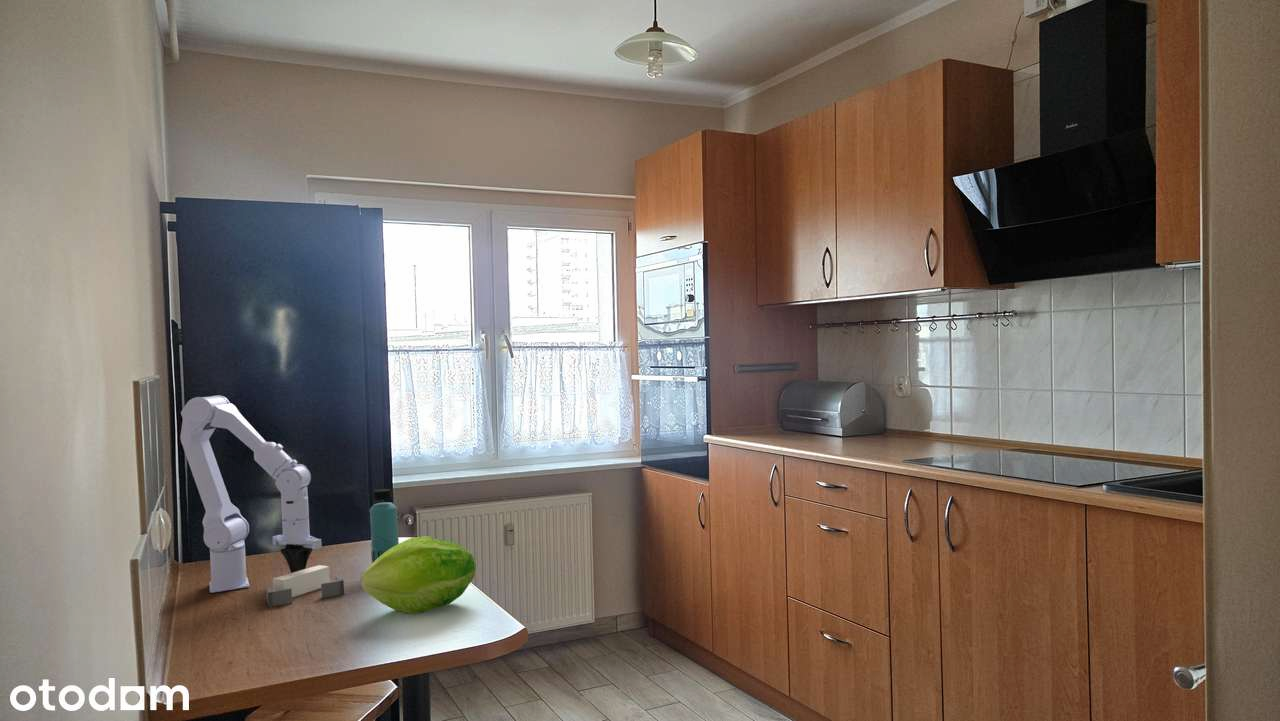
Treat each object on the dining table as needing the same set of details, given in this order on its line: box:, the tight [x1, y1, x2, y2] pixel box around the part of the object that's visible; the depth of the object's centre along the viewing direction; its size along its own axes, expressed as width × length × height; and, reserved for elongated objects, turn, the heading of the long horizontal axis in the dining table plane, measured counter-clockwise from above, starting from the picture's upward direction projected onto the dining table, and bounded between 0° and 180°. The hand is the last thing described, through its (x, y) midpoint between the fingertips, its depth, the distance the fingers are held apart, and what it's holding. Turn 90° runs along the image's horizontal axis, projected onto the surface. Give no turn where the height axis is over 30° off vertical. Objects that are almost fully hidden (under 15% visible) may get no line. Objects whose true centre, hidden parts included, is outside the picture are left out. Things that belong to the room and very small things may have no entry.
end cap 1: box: [265, 585, 293, 608], centre depth 177 cm, size 6×4×3 cm
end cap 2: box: [320, 574, 345, 599], centre depth 182 cm, size 6×4×3 cm
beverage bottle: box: [369, 488, 400, 564], centre depth 197 cm, size 6×7×20 cm
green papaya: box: [360, 535, 477, 614], centre depth 167 cm, size 15×23×16 cm
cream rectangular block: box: [272, 564, 331, 598], centre depth 184 cm, size 4×12×4 cm, turn 150°
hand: (298, 577), depth 191 cm, fingers closed
